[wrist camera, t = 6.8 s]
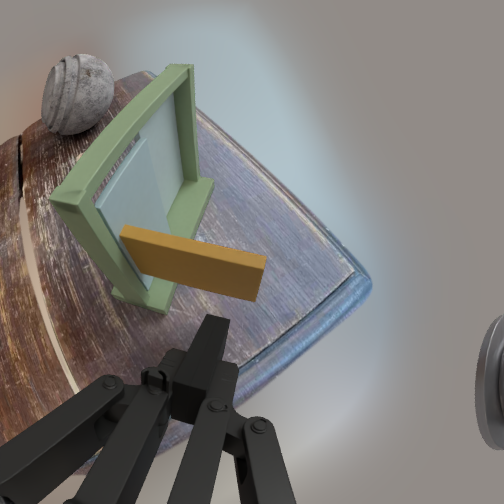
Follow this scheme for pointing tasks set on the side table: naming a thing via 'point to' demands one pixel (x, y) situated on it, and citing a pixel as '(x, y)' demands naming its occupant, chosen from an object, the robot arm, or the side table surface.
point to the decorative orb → (76, 94)
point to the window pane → (168, 236)
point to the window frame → (166, 171)
